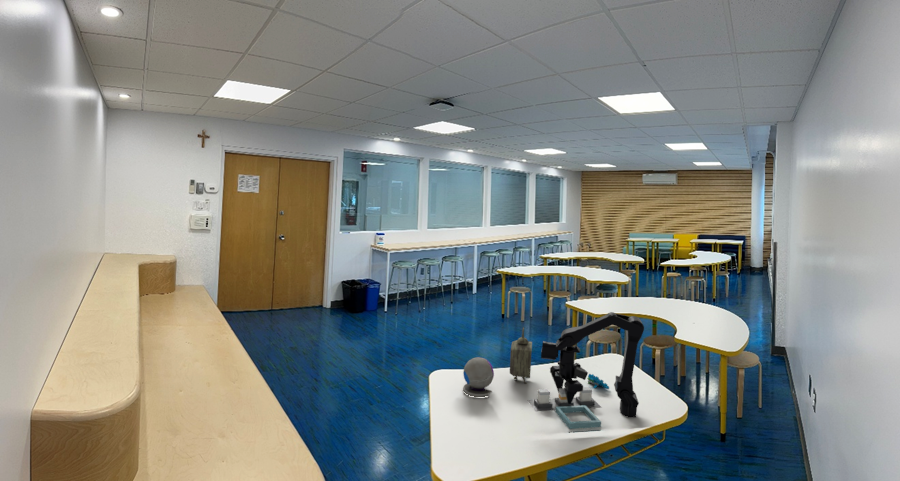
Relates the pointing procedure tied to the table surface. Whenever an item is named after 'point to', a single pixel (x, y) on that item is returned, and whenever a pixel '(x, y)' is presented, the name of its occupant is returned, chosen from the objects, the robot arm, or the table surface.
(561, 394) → the marked fuse
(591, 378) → the gear
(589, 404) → the fuse holder
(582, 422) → the tray
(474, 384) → the webcam
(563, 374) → the robot arm
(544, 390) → the block
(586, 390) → the white fuse right
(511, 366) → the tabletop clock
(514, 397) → the table surface
